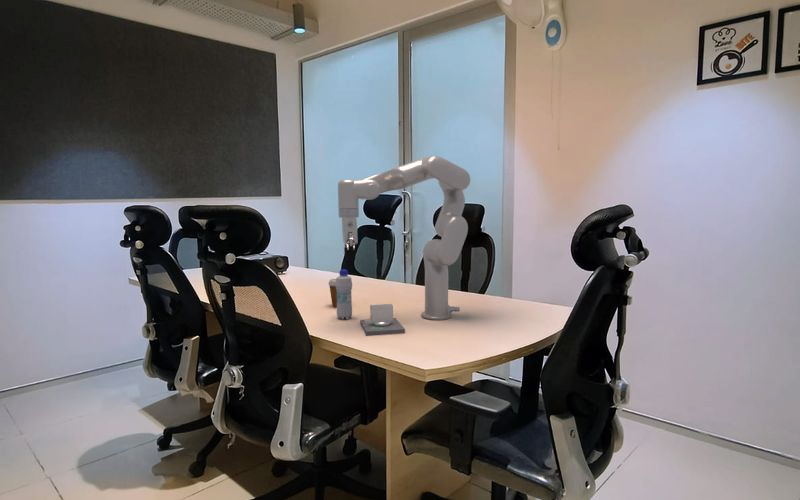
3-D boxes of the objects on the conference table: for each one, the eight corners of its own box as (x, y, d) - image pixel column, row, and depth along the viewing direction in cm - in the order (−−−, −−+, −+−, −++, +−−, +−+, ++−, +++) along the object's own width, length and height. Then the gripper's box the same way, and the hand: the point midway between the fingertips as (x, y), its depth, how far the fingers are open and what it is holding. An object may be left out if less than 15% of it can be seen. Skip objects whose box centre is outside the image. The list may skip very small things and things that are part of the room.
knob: (394, 325, 176) (394, 306, 176) (365, 327, 174) (365, 308, 173) (390, 320, 183) (390, 302, 182) (363, 322, 181) (362, 304, 180)
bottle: (349, 320, 191) (349, 270, 189) (333, 319, 192) (332, 270, 190) (354, 316, 197) (354, 268, 195) (339, 315, 198) (338, 267, 196)
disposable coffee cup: (348, 308, 211) (348, 281, 210) (327, 308, 211) (326, 282, 210) (351, 304, 221) (350, 278, 219) (330, 304, 221) (330, 278, 219)
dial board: (395, 321, 189) (395, 317, 189) (405, 333, 172) (405, 328, 172) (360, 323, 186) (360, 319, 186) (366, 335, 169) (366, 331, 169)
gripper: (361, 214, 171) (362, 261, 173) (356, 212, 188) (357, 256, 190) (340, 214, 170) (341, 262, 171) (337, 213, 187) (338, 256, 188)
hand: (349, 259), depth 181 cm, fingers open, 9 cm apart
